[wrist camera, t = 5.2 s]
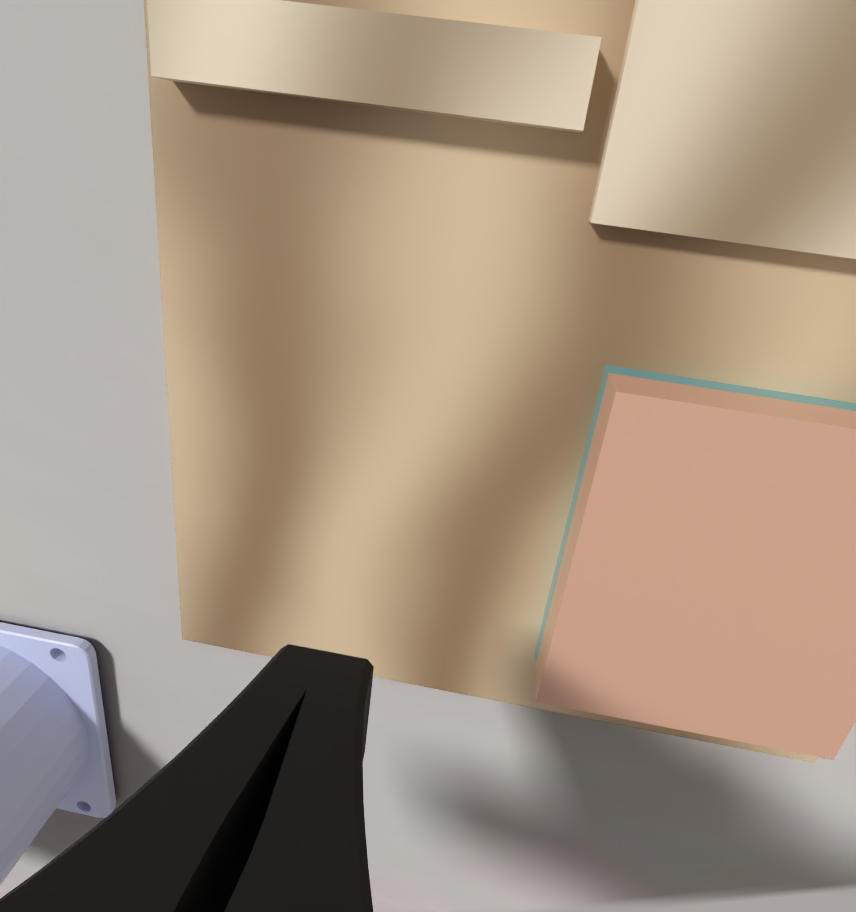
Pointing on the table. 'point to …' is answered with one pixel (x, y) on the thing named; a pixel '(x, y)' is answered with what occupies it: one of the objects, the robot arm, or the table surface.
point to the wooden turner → (588, 97)
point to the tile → (709, 565)
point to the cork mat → (427, 358)
